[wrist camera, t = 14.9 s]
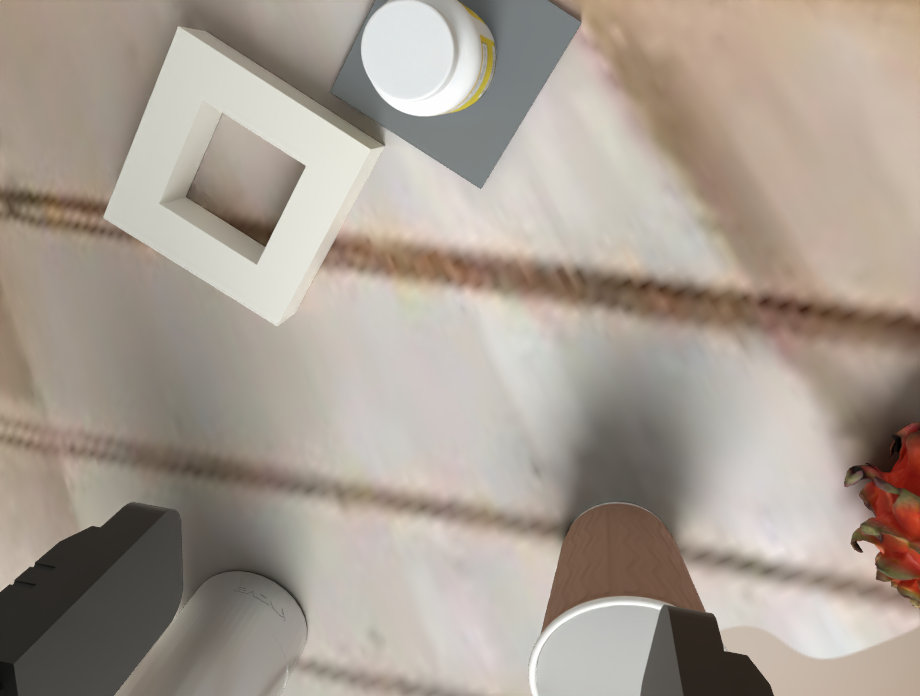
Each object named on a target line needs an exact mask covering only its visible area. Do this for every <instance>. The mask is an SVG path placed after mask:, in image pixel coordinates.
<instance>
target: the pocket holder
mask: <svg viewBox="0 0 920 696" xmlns="http://www.w3.org/2000/svg"><path fill="white" fill-rule="evenodd" d="M222 113H224V114H225V115H227V116H228V117H230V118H231V119H233V120H235V121H236V122H238V123H239V124H241V125H242V126H244V127H246V128H247V129H249V130H250V131H252V132H253V133H255V134H257V135H258V136H260V137H261V138H263V139H264V140H266V141H268V142H269V143H271V144H272V145H274V146H275V147H277V148H279V149H280V150H282V151H283V152H285V153H286V154H288V155H290V156H291V157H293V158H294V159H296V160H297V161H299V162H301V163H302V164H304V165H305V166H306V167H305V169H304V171H303V173H302V175H301V177H300V179H299V181H298V183H297V185H296V187H295V189H294V191H293V193H292V195H291V197H290V199H289V201H288V203H287V205H286V207H285V209H284V211H283V213H282V215H281V217H280V219H279V221H278V223H277V225H276V227H275V229H274V231H273V234H272V236H271V238H270V240H269V242H268V244H267V246H266V247H264V246H263V245H261V244H260V243H258V242H256V241H255V240H253V239H252V238H250V237H249V236H247V235H245V234H244V233H242V232H241V231H239V230H237V229H236V228H234V227H233V226H231V225H229V224H228V223H226V222H225V221H223V220H222V219H220V218H218V217H217V216H215V215H214V214H212V213H210V212H209V211H207V210H206V209H204V208H202V207H201V206H199V205H198V204H196V203H194V202H193V201H191V200H190V199H188V198H187V197H186V195H187V193H188V190H189V188H190V186H191V184H192V181H193V179H194V177H195V174H196V172H197V170H198V168H199V165H200V163H201V161H202V158H203V156H204V154H205V152H206V149H207V147H208V145H209V142H210V140H211V138H212V136H213V133H214V131H215V129H216V126H217V124H218V122H219V119H220V117H221V115H222ZM384 147H385V146H384V145H382V144H381V143H379V142H378V141H376V140H375V139H373V138H372V137H370V136H368V135H367V134H365V133H364V132H362V131H361V130H359V129H358V128H356V127H354V126H353V125H351V124H350V123H348V122H347V121H345V120H344V119H342V118H340V117H339V116H337V115H336V114H334V113H333V112H331V111H329V110H328V109H326V108H325V107H323V106H322V105H320V104H319V103H317V102H315V101H314V100H312V99H311V98H309V97H308V96H306V95H305V94H303V93H301V92H300V91H298V90H297V89H295V88H294V87H292V86H291V85H289V84H287V83H286V82H284V81H283V80H281V79H280V78H278V77H277V76H275V75H273V74H272V73H270V72H269V71H267V70H266V69H264V68H262V67H261V66H259V65H258V64H256V63H255V62H253V61H252V60H250V59H248V58H247V57H245V56H244V55H242V54H241V53H239V52H238V51H236V50H234V49H233V48H231V47H230V46H228V45H227V44H225V43H224V42H222V41H220V40H219V39H217V38H216V37H214V36H213V35H211V34H210V33H208V32H206V31H202V30H197V29H191V28H186V27H180V26H178V28H177V31H176V33H175V36H174V38H173V41H172V43H171V46H170V49H169V51H168V54H167V56H166V59H165V61H164V64H163V66H162V69H161V71H160V74H159V77H158V79H157V82H156V84H155V87H154V89H153V92H152V94H151V97H150V99H149V102H148V105H147V107H146V110H145V112H144V115H143V117H142V120H141V122H140V125H139V127H138V130H137V132H136V135H135V138H134V140H133V143H132V145H131V148H130V150H129V153H128V155H127V158H126V160H125V163H124V166H123V168H122V171H121V173H120V176H119V178H118V181H117V183H116V186H115V188H114V191H113V194H112V196H111V199H110V201H109V204H108V206H107V209H106V211H105V214H104V216H103V218H104V219H106V220H107V221H109V222H110V223H112V224H114V225H115V226H117V227H118V228H120V229H122V230H123V231H125V232H127V233H128V234H130V235H131V236H133V237H135V238H136V239H138V240H139V241H141V242H143V243H144V244H146V245H147V246H149V247H151V248H152V249H154V250H155V251H157V252H159V253H160V254H162V255H163V256H165V257H167V258H168V259H170V260H171V261H173V262H175V263H176V264H178V265H179V266H181V267H183V268H184V269H186V270H187V271H189V272H191V273H192V274H194V275H195V276H197V277H199V278H200V279H202V280H203V281H205V282H207V283H208V284H210V285H211V286H213V287H215V288H216V289H218V290H219V291H221V292H223V293H224V294H226V295H227V296H229V297H231V298H232V299H234V300H235V301H237V302H239V303H240V304H242V305H244V306H245V307H247V308H248V309H250V310H252V311H253V312H255V313H256V314H258V315H260V316H261V317H263V318H264V319H266V320H268V321H269V322H271V323H272V324H274V325H276V326H278V325H280V324H281V323H282V322H284V321H285V320H286V319H288V318H289V317H290V316H292V315H293V314H294V313H296V311H297V309H298V307H299V305H300V304H301V302H302V300H303V298H304V296H305V294H306V292H307V291H308V289H309V287H310V285H311V283H312V281H313V279H314V278H315V276H316V274H317V272H318V270H319V268H320V266H321V264H322V263H323V261H324V259H325V257H326V255H327V253H328V251H329V250H330V248H331V246H332V244H333V242H334V240H335V238H336V237H337V235H338V233H339V231H340V229H341V227H342V225H343V223H344V222H345V220H346V218H347V216H348V214H349V212H350V210H351V209H352V207H353V205H354V203H355V201H356V199H357V197H358V196H359V194H360V192H361V190H362V188H363V186H364V184H365V183H366V181H367V179H368V177H369V175H370V173H371V171H372V169H373V168H374V166H375V164H376V162H377V160H378V158H379V156H380V155H381V153H382V151H383V149H384Z"/></svg>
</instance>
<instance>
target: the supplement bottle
mask: <svg viewBox="0 0 920 696" xmlns="http://www.w3.org/2000/svg"><path fill="white" fill-rule="evenodd" d="M361 56H362V61H363V65H364V68H365V71H366V73H367V75H368V77H369V79H370V80H371V82H372V84H373V86H374V87H375V89H376V91H377V92H378V93H379V95H380V96H381V97H382V98H383V99H384V100H385V101H386V102H387V103H388V104H390V105H391V106H392V107H394V108H395V109H397V110H399V111H401V112H404V113H406V114H410V115H415V116H436V115H441V114H447V113H452V112H457V111H461V110H464V109H466V108H468V107H470V106H471V105H473V104H474V103H476V102H477V101H478V100H479V99H480V98H481V97H482V96H483V95H484V94H485V93H486V91H487V90H488V88H489V87H490V85H491V83H492V81H493V78H494V75H495V71H496V66H497V50H496V45H495V41H494V38H493V36H492V34H491V31H490V30H489V28H488V26H487V25H486V24H485V22H484V21H483V20H482V19H481V18H480V17H479V16H478V15H477V14H476V13H475V12H473V11H472V10H470V9H469V8H467V7H466V6H465V5H463V4H462V3H460V2H459V1H457V0H388V1H387V2H386V3H385V4H384V5H383V6H381V7H380V8H379V9H378V10H377V11H376V12H375V13H374V14H373V15H372V16H371V18H370V19H369V21H368V23H367V25H366V27H365V29H364V32H363V36H362V41H361Z"/></svg>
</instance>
